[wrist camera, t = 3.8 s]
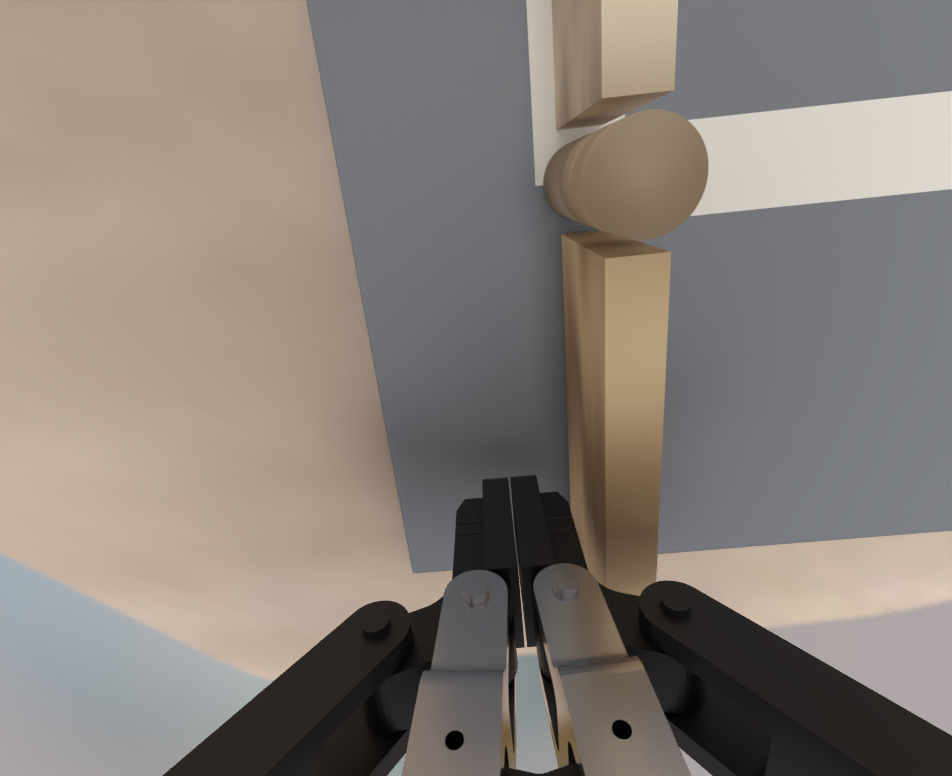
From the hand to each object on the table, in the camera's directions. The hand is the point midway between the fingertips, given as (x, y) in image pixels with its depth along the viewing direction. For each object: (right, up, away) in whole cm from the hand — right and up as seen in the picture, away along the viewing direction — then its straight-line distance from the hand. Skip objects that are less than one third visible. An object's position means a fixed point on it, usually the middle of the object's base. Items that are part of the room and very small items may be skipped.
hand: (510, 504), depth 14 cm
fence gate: (+3, +3, +2) cm, 4 cm away
